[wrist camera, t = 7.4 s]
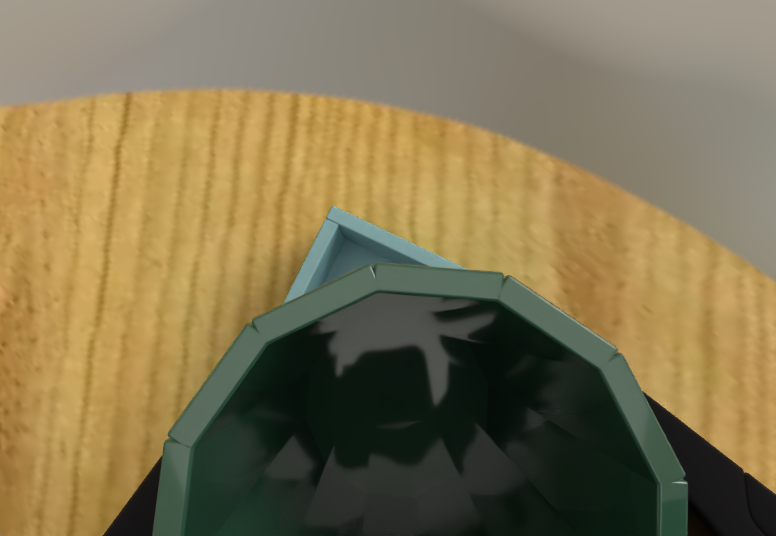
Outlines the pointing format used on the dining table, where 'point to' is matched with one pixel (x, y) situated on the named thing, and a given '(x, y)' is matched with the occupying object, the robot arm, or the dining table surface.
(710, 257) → the dining table surface
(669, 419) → the robot arm
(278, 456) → the cup
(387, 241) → the bin
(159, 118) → the dining table surface
